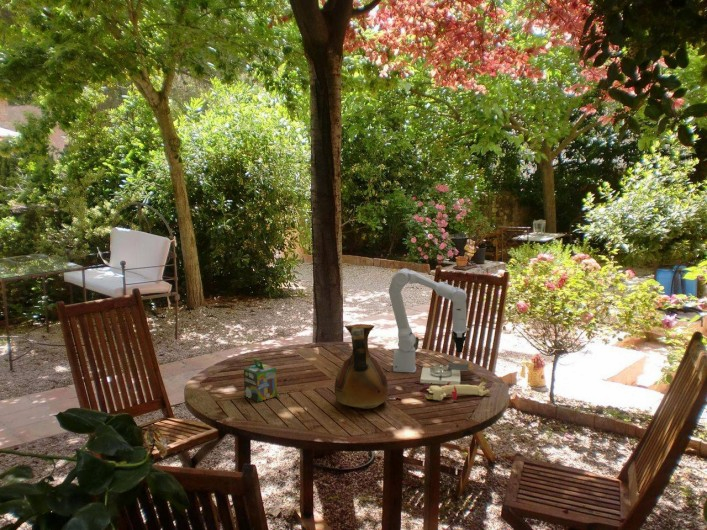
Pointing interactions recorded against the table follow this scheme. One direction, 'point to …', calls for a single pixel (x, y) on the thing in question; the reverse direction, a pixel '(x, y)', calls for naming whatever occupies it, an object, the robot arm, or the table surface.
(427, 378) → the cap plate
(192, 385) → the table surface
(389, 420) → the table surface
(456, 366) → the grey metal handled bowl
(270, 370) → the chalk box
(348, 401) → the brown vase
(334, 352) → the table surface
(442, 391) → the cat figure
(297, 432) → the table surface
